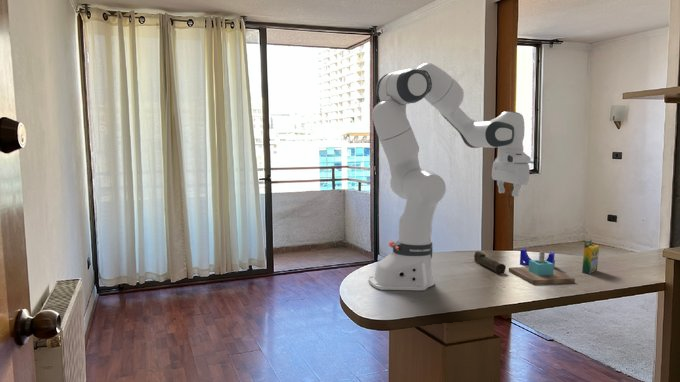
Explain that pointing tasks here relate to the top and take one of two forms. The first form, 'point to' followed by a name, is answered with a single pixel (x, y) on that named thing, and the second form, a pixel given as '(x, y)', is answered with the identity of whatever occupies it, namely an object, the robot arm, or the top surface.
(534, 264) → the collar
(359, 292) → the top surface
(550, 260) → the blue curved cradle
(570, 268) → the top surface
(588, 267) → the crayon box
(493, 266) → the dark brown rod
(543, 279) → the post stand
